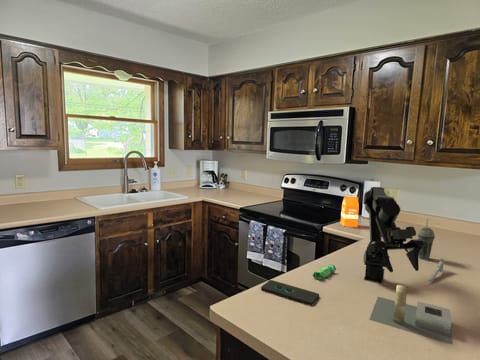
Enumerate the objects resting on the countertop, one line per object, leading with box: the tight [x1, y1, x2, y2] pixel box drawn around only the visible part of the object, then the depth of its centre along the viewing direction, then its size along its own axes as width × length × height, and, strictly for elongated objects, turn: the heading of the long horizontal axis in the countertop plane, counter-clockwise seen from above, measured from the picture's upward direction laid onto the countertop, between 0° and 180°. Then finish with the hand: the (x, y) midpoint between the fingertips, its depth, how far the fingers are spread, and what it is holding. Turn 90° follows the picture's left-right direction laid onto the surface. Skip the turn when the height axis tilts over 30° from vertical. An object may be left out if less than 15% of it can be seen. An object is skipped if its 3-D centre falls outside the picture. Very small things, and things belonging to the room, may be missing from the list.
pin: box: [393, 284, 408, 324], centre depth 99 cm, size 3×3×12 cm
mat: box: [369, 296, 453, 345], centre depth 102 cm, size 22×18×1 cm
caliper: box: [427, 257, 445, 285], centre depth 135 cm, size 20×1×6 cm, turn 136°
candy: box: [312, 264, 337, 281], centre depth 133 cm, size 12×3×4 cm
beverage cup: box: [417, 218, 436, 261], centre depth 155 cm, size 7×7×20 cm
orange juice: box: [340, 196, 360, 228], centre depth 212 cm, size 8×9×20 cm
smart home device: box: [260, 279, 320, 307], centre depth 117 cm, size 8×2×20 cm
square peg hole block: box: [415, 300, 452, 336], centre depth 99 cm, size 9×9×4 cm
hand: (404, 271), depth 105 cm, fingers open, 9 cm apart
